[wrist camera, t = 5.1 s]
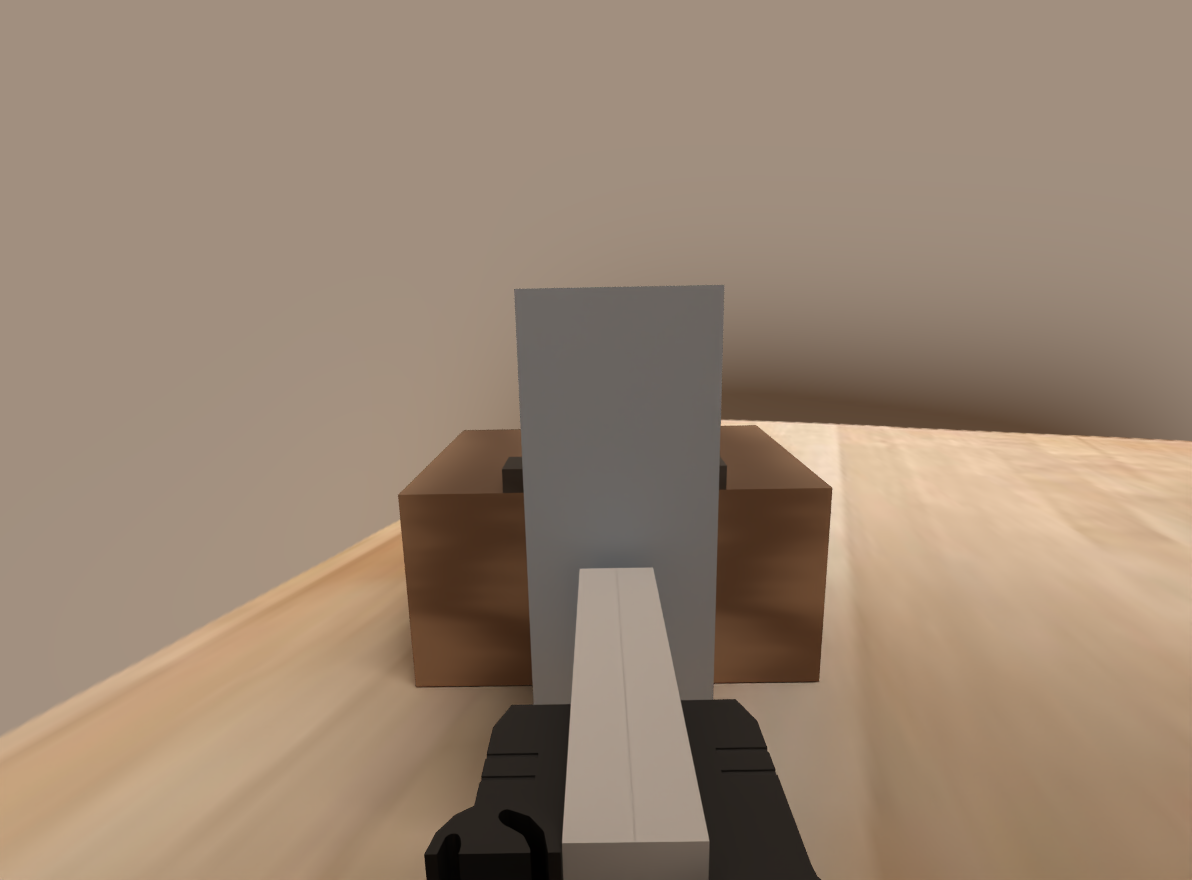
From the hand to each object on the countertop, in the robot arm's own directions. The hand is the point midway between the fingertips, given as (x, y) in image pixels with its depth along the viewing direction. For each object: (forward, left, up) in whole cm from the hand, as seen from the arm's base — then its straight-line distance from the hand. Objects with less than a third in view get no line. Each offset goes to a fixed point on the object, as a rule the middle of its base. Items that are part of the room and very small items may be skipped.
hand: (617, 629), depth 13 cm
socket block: (0, -13, -6) cm, 14 cm away
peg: (0, -5, -6) cm, 8 cm away
